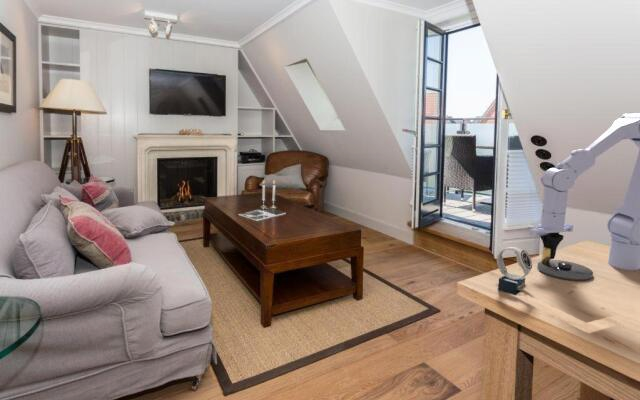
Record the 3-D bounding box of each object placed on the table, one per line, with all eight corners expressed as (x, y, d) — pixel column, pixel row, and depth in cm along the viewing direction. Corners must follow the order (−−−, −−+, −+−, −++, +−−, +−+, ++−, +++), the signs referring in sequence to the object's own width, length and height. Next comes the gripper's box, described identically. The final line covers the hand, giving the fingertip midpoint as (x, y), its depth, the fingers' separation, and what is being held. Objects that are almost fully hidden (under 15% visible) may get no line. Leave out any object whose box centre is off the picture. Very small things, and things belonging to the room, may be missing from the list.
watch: (523, 297, 99) (528, 254, 97) (490, 287, 104) (494, 246, 102) (532, 291, 103) (537, 249, 100) (500, 282, 108) (504, 242, 106)
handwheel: (600, 272, 110) (602, 253, 109) (581, 285, 103) (584, 264, 101) (549, 260, 120) (551, 242, 119) (528, 270, 112) (530, 251, 111)
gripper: (559, 206, 119) (554, 250, 122) (522, 210, 114) (517, 257, 117) (582, 211, 113) (576, 258, 116) (544, 216, 108) (539, 265, 110)
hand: (548, 258), depth 116 cm, fingers closed, pressing on handwheel
